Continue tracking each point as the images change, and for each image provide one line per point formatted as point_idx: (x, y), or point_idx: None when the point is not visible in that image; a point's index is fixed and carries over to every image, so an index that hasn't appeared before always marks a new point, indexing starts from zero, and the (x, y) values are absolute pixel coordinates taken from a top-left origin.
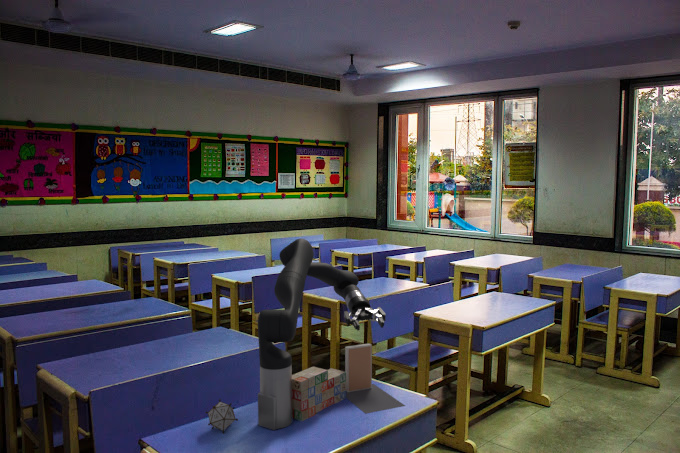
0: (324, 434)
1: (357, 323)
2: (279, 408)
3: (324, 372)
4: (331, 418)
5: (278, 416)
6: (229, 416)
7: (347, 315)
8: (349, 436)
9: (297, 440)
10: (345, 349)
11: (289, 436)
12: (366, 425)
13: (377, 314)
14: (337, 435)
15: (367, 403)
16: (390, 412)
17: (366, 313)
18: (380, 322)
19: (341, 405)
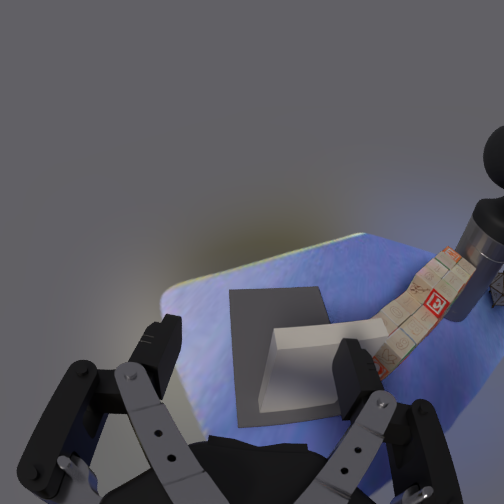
0: (384, 259)
1: (358, 353)
2: None
3: (420, 270)
4: (375, 294)
5: None
6: (495, 277)
7: (436, 451)
8: (352, 246)
9: (413, 257)
10: (383, 340)
11: None
12: (323, 261)
13: (133, 399)
14: (367, 252)
15: (301, 320)
16: (267, 284)
17: (235, 466)
18: (175, 335)
19: None
